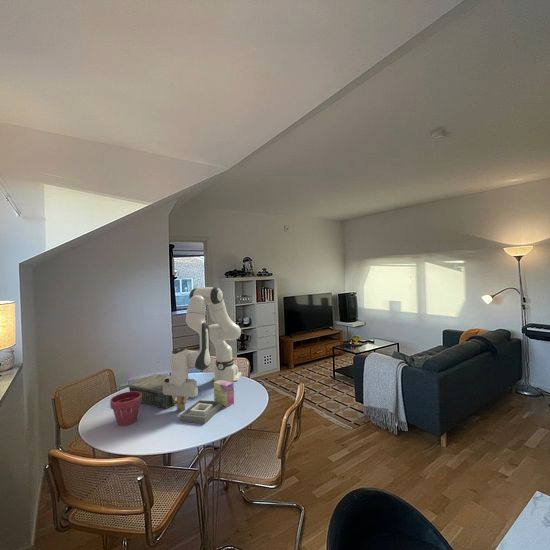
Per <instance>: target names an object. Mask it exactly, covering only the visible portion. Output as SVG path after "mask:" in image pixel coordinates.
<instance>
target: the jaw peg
mask: <svg viewBox="0 0 550 550" xmlns="http://www.w3.org/2000/svg"><path fill="white" fill-rule="evenodd" d="M184 400H185V398H184V397H182V396H177V404H176V407H177V409H176V410H177V412H184V411H186V406H185V404H183V401H184Z"/></svg>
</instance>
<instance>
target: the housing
mask: <svg viewBox="0 0 550 550" xmlns="http://www.w3.org/2000/svg"><path fill="white" fill-rule="evenodd" d="M222 407H223V405H222V402H218V401H214V400H206V399H204V400H203V399H198V400H197V401H196V402H194V404H192V405H191V406H189V407H188V408H187V409H185V410H184V411H182V413H181V414H179V418H180V419H179V421H180V422H186V423H195V424H203V425H204V424H205V425H206V424H207V423H208V421H210V419H212V418H213V416H215V415H216V414H217V413H218V412H219V411H220V410H221V409H222Z"/></svg>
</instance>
